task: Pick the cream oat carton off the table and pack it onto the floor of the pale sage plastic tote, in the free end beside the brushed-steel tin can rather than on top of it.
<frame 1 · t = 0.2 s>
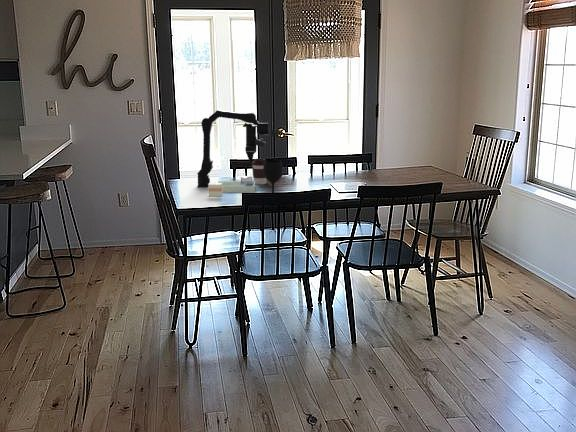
hand: (251, 161, 360), 15 cm above the table, fingers open, 9 cm apart
coffee cup: (259, 184, 370), on the table
wine glass: (273, 198, 331), on the table
oat carton: (215, 196, 335), on the table
tote: (236, 190, 351), on the table
tin can: (246, 189, 351), point 1 cm above the table, touching tote
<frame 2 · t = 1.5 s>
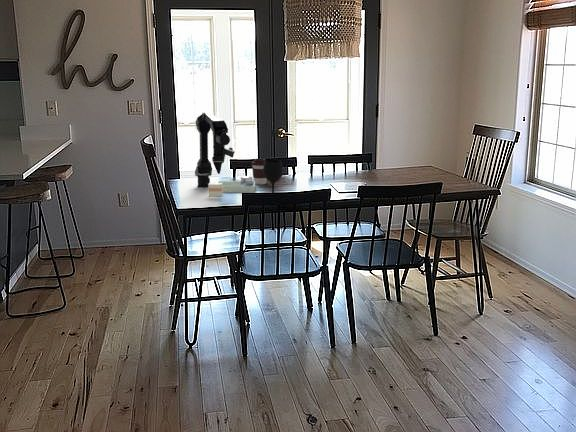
hand: (219, 172, 334), 13 cm above the table, fingers open, 9 cm apart
nothing on the table moved.
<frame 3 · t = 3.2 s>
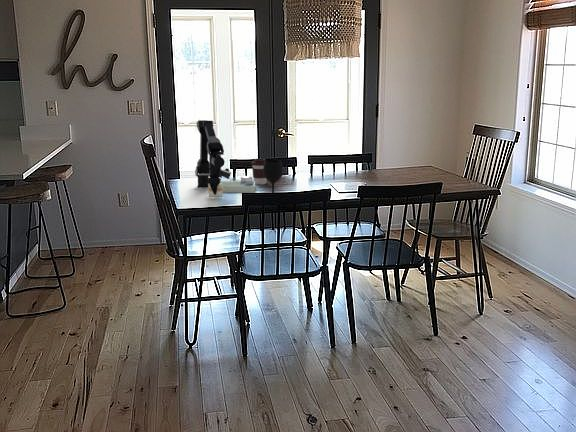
hand: (215, 193, 334), 2 cm above the table, fingers closed on oat carton, 5 cm apart
oat carton: (215, 196, 335), on the table, touching gripper
everything else where it was.
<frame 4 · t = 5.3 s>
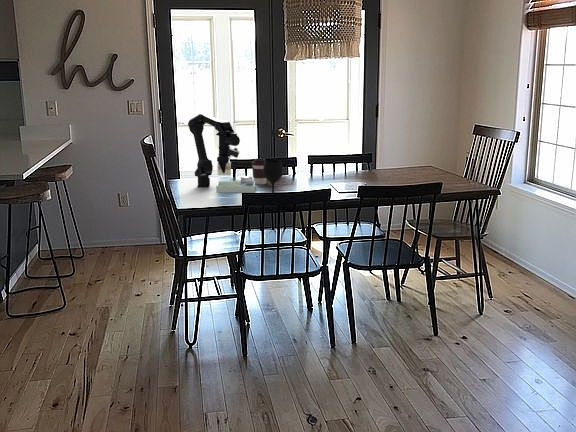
hand: (224, 171, 347), 11 cm above the table, fingers closed on oat carton, 5 cm apart
oat carton: (224, 174, 347), point 9 cm above the table, touching gripper
everything else where it was.
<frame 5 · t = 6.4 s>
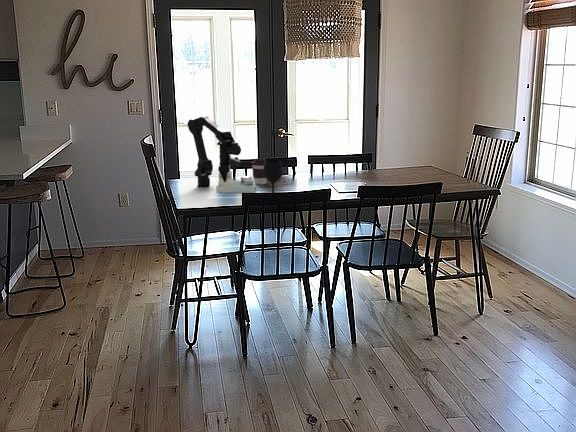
hand: (225, 181, 349), 5 cm above the table, fingers closed on oat carton, 5 cm apart
oat carton: (225, 183, 350), point 4 cm above the table, touching gripper
everything else where it was.
when the fingers open (4 cm above the table, at t = 7.1 s): oat carton drops 2 cm, resting on tote.
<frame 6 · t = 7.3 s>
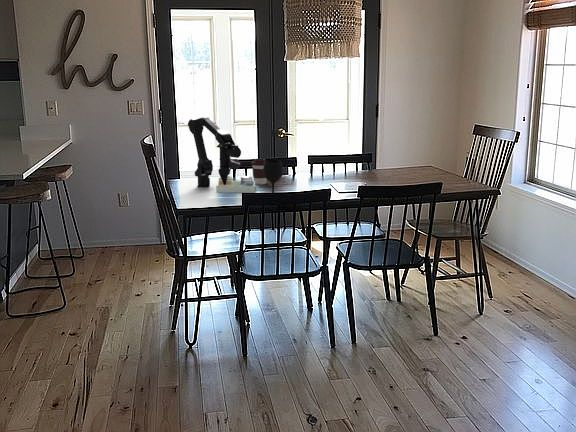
hand: (225, 183, 350), 4 cm above the table, fingers open, 7 cm apart
oat carton: (225, 189, 350), point 1 cm above the table, touching tote
everything else where it was.
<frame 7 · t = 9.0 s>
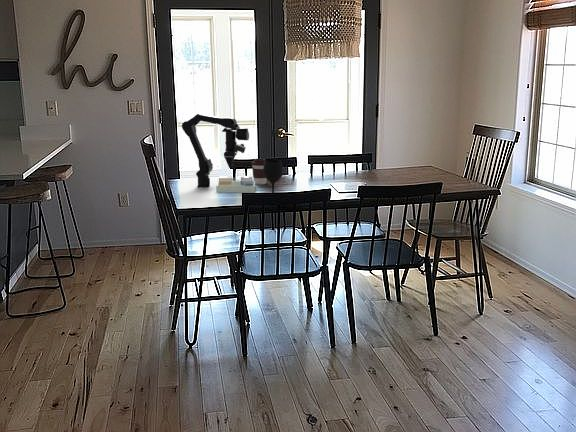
hand: (231, 167, 357), 12 cm above the table, fingers open, 9 cm apart
nothing on the table moved.
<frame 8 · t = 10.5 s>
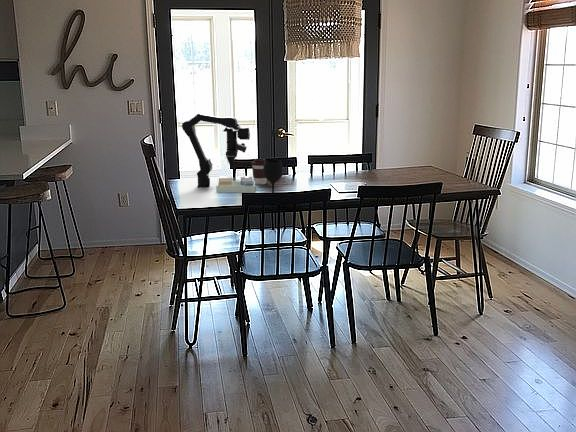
hand: (232, 166, 359), 12 cm above the table, fingers open, 9 cm apart
nothing on the table moved.
at the end: oat carton inside the target area on the tote (1.5 cm from its centre), point 0.6 cm above the tote's base; oat carton tilted 0°; tin can moved 0.0 cm from its start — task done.
